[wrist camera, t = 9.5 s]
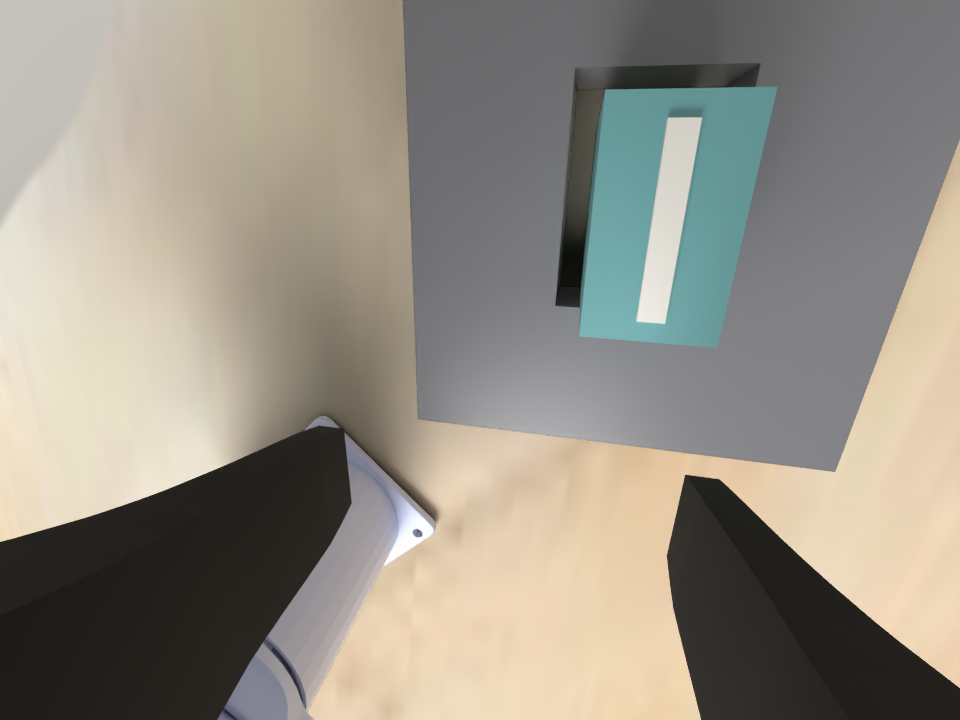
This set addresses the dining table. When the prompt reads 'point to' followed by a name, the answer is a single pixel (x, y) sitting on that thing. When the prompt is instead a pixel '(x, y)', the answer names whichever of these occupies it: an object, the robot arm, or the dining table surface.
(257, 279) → the dining table surface
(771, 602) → the robot arm
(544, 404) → the keyed socket
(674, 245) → the keyed peg
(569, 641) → the dining table surface
